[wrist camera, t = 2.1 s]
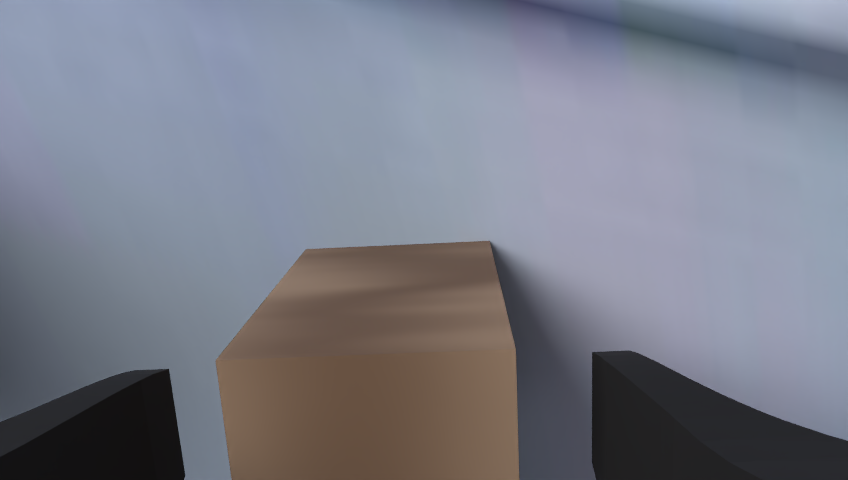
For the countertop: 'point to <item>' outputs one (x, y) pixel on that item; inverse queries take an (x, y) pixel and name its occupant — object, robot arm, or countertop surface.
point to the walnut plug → (376, 370)
